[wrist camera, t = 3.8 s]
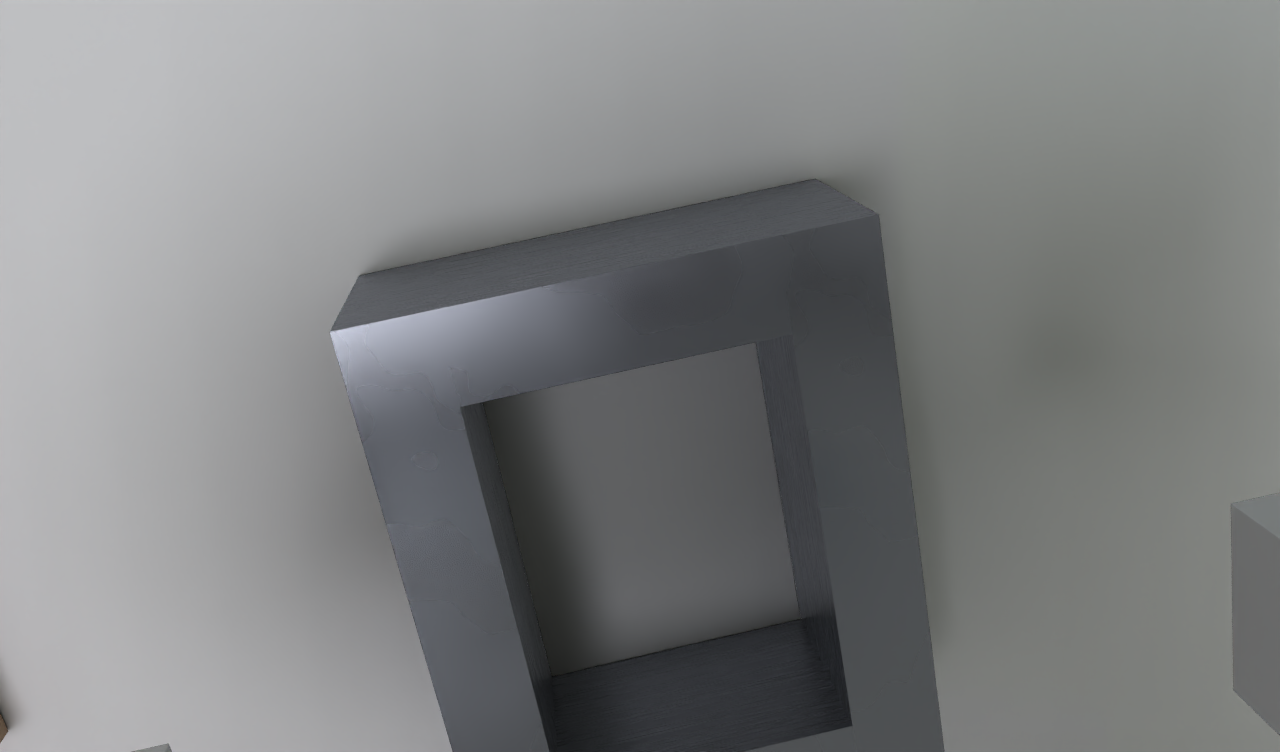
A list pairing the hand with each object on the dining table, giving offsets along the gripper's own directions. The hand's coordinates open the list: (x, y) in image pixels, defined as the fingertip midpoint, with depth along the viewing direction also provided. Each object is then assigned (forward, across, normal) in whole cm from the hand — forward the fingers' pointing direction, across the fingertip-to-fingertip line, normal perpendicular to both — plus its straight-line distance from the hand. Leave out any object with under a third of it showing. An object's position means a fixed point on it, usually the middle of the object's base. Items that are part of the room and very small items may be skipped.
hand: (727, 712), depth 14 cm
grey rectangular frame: (+8, 0, 0) cm, 8 cm away
